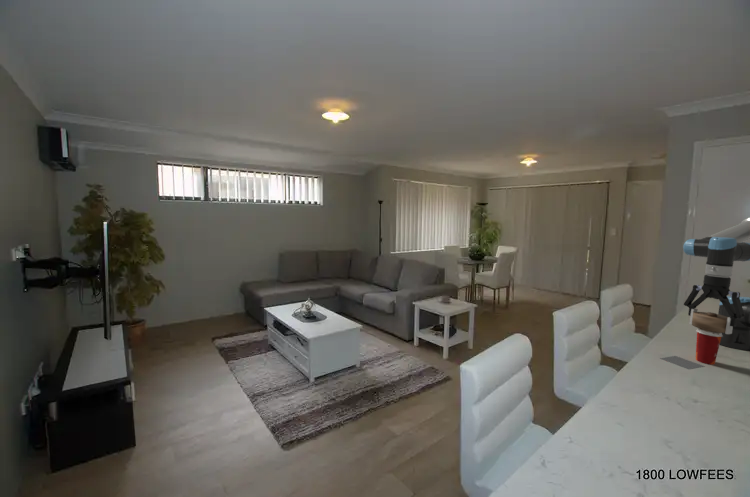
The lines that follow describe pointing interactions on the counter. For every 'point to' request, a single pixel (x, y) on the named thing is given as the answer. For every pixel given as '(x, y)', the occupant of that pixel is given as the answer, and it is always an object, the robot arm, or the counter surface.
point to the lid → (709, 321)
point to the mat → (682, 362)
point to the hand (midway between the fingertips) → (709, 328)
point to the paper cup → (707, 346)
